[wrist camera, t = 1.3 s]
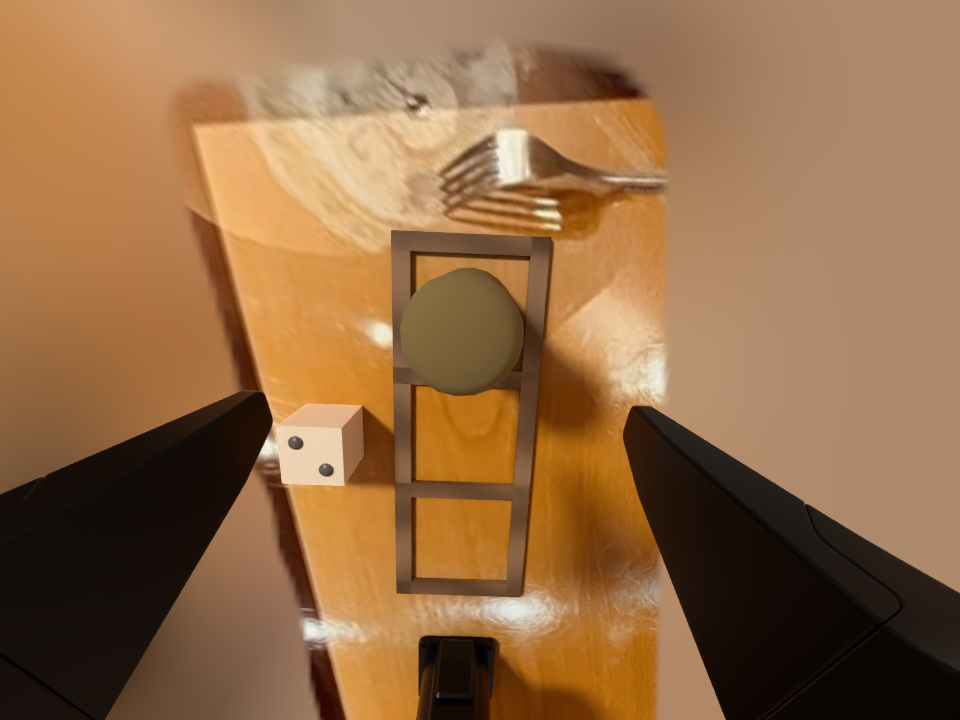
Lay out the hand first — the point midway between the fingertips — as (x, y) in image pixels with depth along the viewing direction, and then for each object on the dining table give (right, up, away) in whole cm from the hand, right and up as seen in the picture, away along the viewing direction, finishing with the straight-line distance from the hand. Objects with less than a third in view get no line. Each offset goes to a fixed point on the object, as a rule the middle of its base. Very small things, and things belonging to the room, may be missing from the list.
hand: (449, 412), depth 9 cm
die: (-10, -4, +17) cm, 20 cm away
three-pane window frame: (0, -4, +17) cm, 18 cm away
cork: (0, +5, +15) cm, 16 cm away
